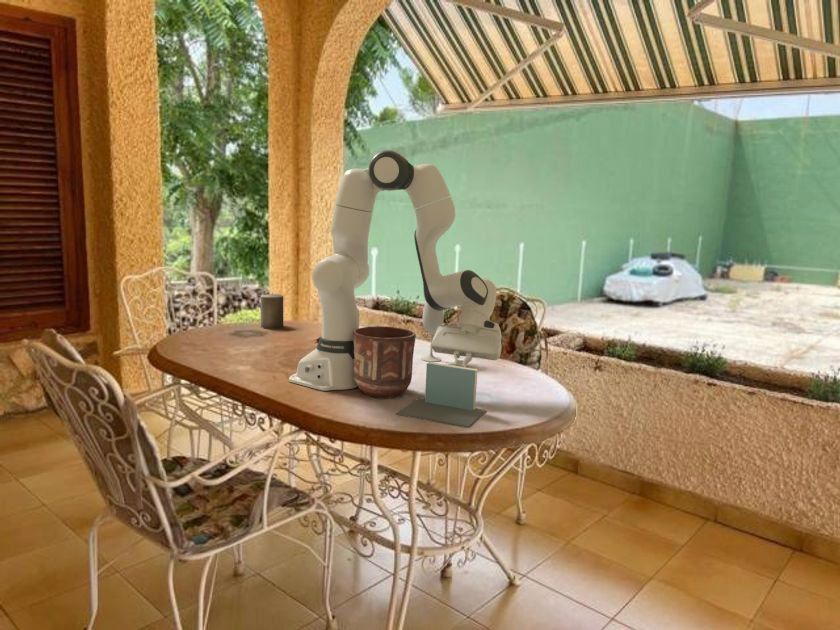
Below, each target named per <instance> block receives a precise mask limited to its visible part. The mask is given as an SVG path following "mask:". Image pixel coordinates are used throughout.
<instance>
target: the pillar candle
mask: <svg viewBox="0 0 840 630" xmlns="http://www.w3.org/2000/svg"><path fill="white" fill-rule="evenodd" d="M284 326H285V325H284V295H283V294H276V293H274V292H271V294H270V293H268V294H267V293H266V294H261V295H260V328H262V327H263V328H262V329H269V330H270V329H271V330H274V329H281V328H283V327H284Z"/></svg>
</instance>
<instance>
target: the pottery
mask: <svg viewBox="0 0 840 630" xmlns="http://www.w3.org/2000/svg"><path fill="white" fill-rule="evenodd" d="M416 338H417V337H416V332H414V331H412V330H410V329H407V328H403V327H396V326H395V327H394V326H380V325H379V326H376V325H375V326H365V327H359V329H356V330H354V332H353V340H354V357H355V360H354V379H355V382H356V384H357V386H358V387H357V388H359V390H360V391H361V392H362V393H363V394H365V395H366V396H369V397H373V398H379V399H381V398H382V399H388V398H396V397H400V396H402V395H403V393H404V392H406V391H407V390H408V388H409V387H410V384H411V382H412V378H413V377H412V376H413V363H414V362H413V361H414V351H415V344H416Z"/></svg>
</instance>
